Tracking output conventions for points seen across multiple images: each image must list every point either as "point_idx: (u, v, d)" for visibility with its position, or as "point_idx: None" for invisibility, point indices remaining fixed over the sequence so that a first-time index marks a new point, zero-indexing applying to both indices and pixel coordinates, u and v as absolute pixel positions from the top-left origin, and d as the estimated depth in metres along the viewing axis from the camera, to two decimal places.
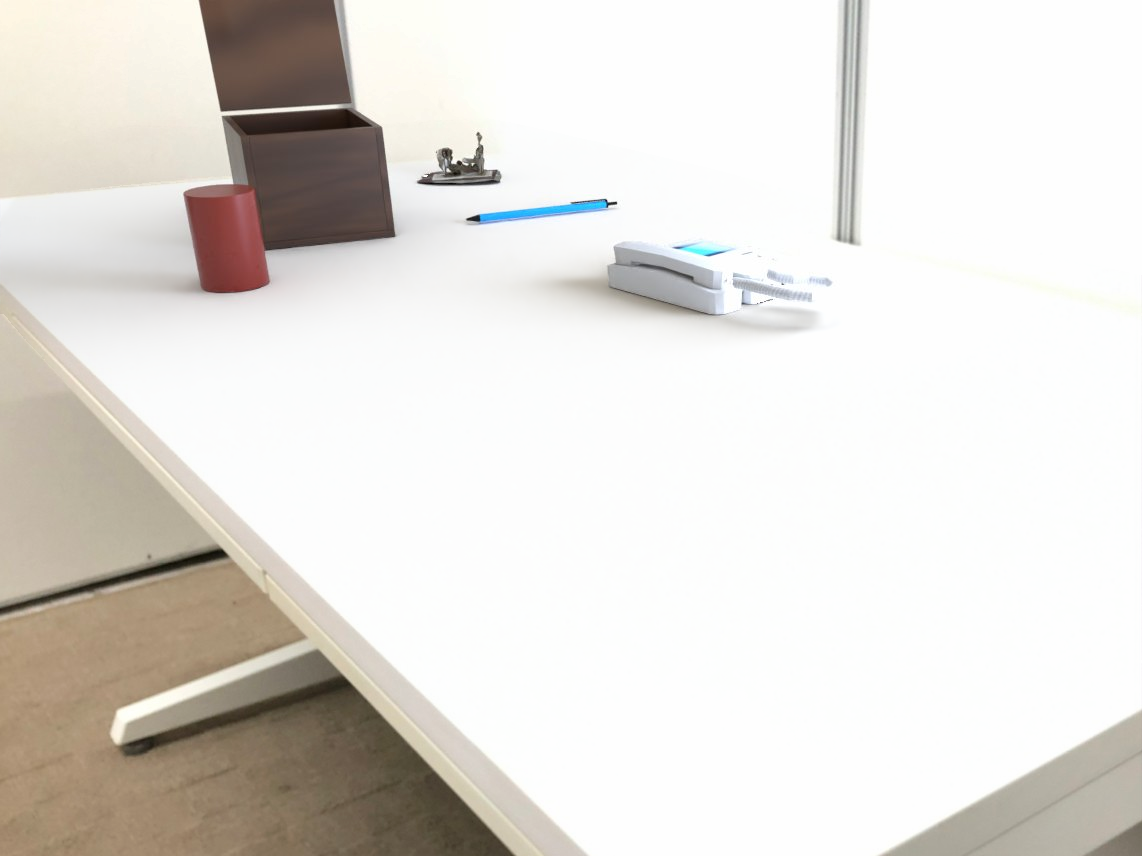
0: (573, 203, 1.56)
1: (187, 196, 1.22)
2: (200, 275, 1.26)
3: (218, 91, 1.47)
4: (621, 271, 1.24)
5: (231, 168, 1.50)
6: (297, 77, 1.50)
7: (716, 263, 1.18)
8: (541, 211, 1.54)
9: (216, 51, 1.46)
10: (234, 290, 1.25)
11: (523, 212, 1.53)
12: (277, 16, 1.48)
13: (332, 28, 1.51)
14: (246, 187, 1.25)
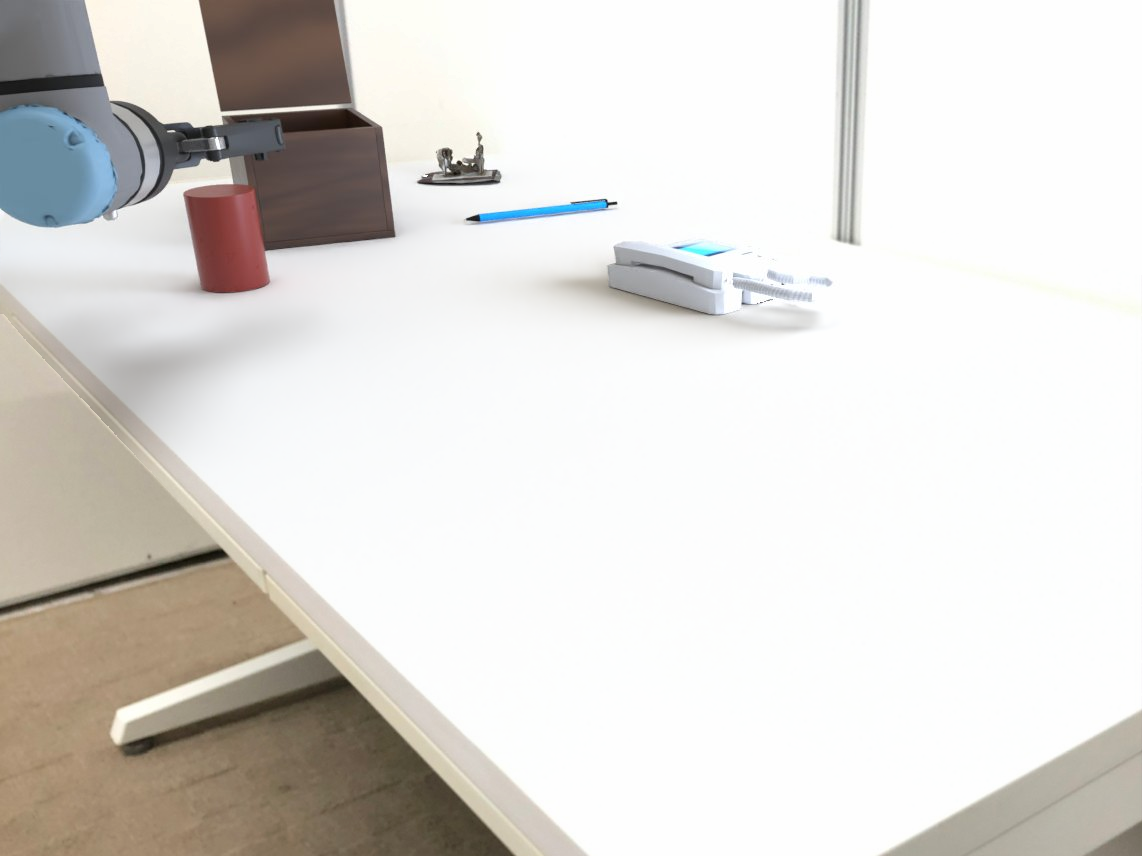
0: (573, 203, 1.56)
1: (187, 196, 1.22)
2: (200, 275, 1.26)
3: (218, 91, 1.47)
4: (621, 271, 1.24)
5: (231, 168, 1.50)
6: (297, 77, 1.50)
7: (716, 263, 1.18)
8: (541, 211, 1.54)
9: (216, 51, 1.46)
10: (234, 290, 1.25)
11: (523, 212, 1.53)
12: (277, 16, 1.48)
13: (332, 28, 1.51)
14: (246, 187, 1.25)
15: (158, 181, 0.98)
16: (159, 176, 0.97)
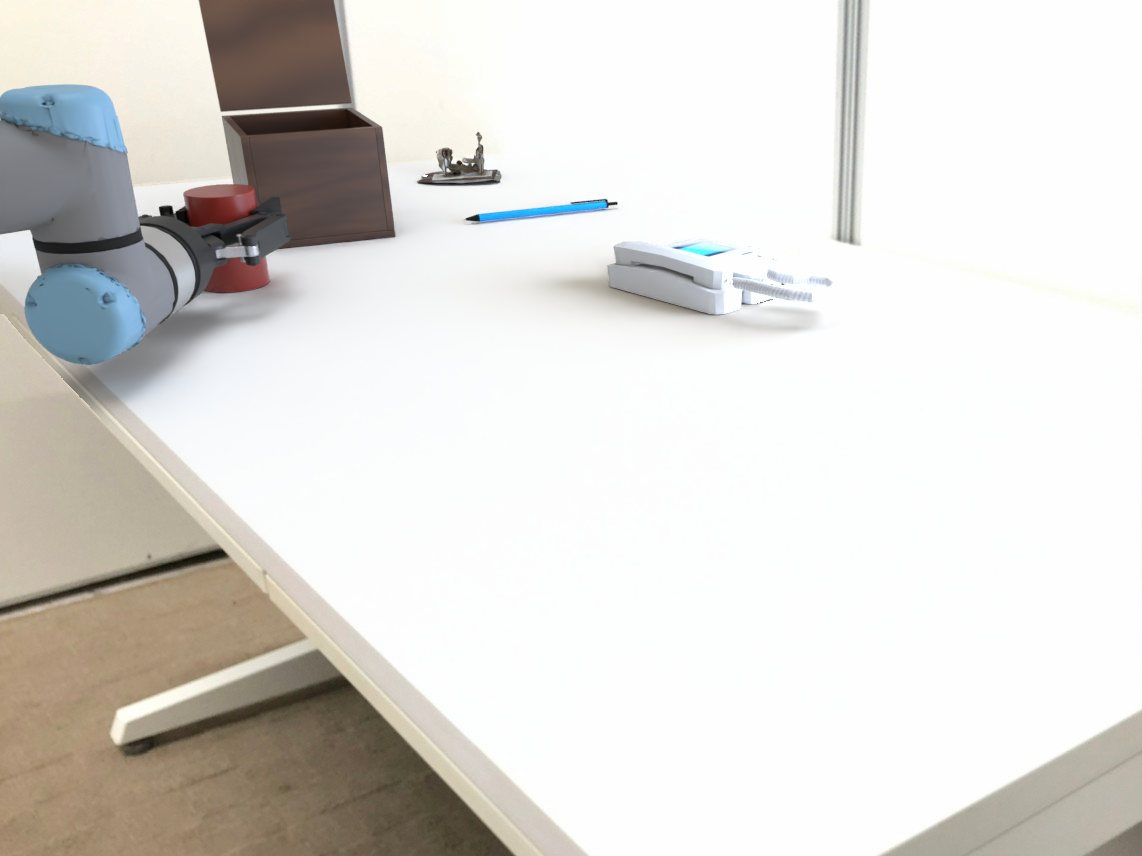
0: (573, 203, 1.56)
1: (187, 196, 1.22)
2: None
3: (218, 91, 1.47)
4: (621, 271, 1.24)
5: (231, 168, 1.50)
6: (297, 77, 1.50)
7: (716, 263, 1.18)
8: (541, 211, 1.54)
9: (216, 51, 1.46)
10: (234, 290, 1.25)
11: (523, 212, 1.53)
12: (277, 16, 1.48)
13: (332, 28, 1.51)
14: (246, 187, 1.25)
15: (194, 293, 1.11)
16: (195, 289, 1.10)
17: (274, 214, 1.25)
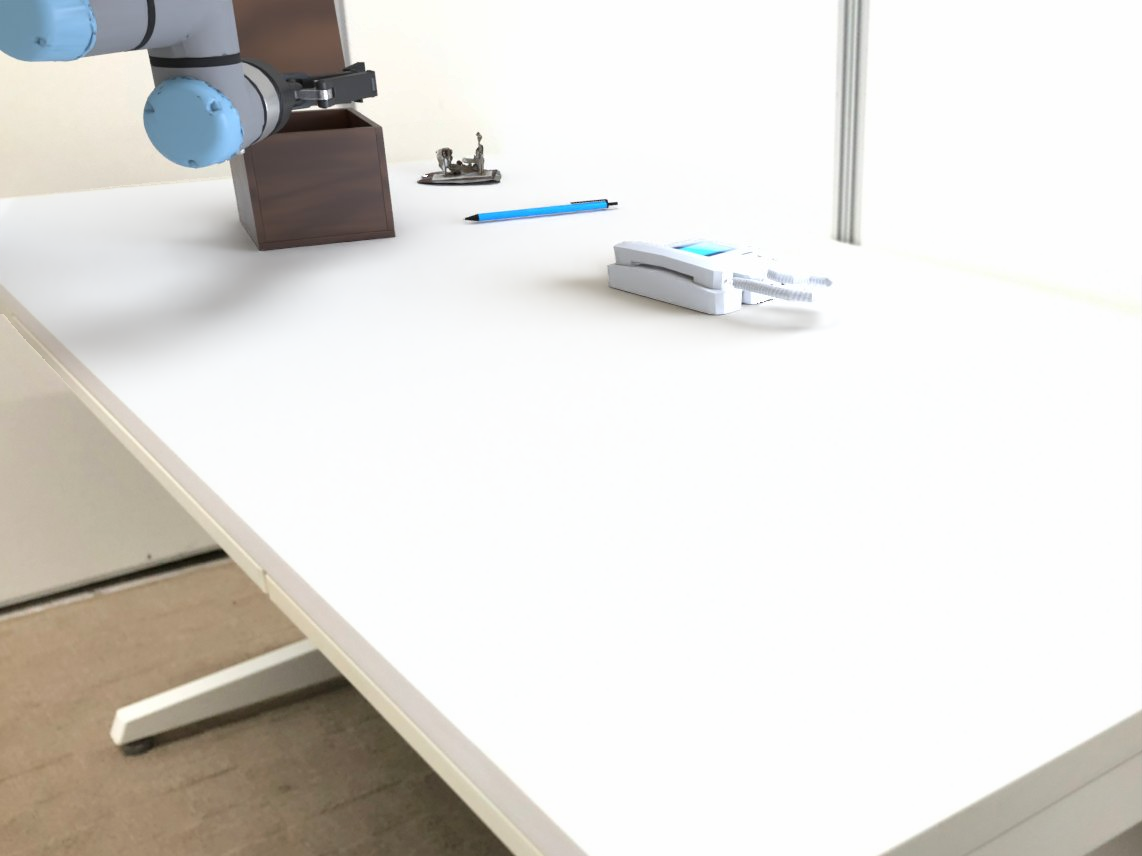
0: (573, 203, 1.56)
1: None
2: None
3: None
4: (621, 271, 1.24)
5: (231, 168, 1.50)
6: None
7: (716, 263, 1.18)
8: (540, 211, 1.54)
9: None
10: None
11: (522, 212, 1.53)
12: (277, 16, 1.48)
13: (332, 28, 1.51)
14: None
15: (277, 124, 1.27)
16: (278, 121, 1.26)
17: None
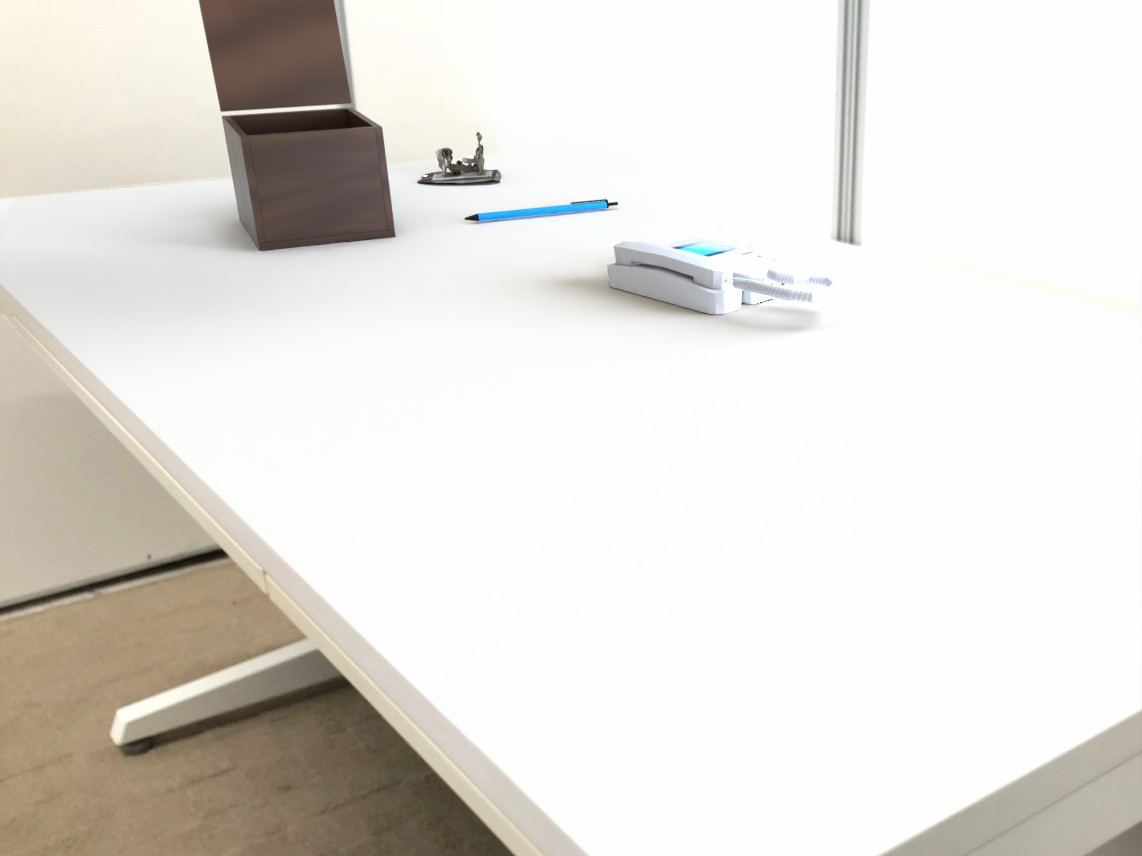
0: (573, 203, 1.56)
1: None
2: None
3: (218, 91, 1.47)
4: (621, 271, 1.24)
5: (231, 168, 1.50)
6: (297, 77, 1.50)
7: (716, 263, 1.18)
8: (540, 211, 1.54)
9: (216, 51, 1.46)
10: None
11: (522, 212, 1.53)
12: (277, 16, 1.48)
13: (332, 28, 1.51)
14: None
15: None
16: None
17: None
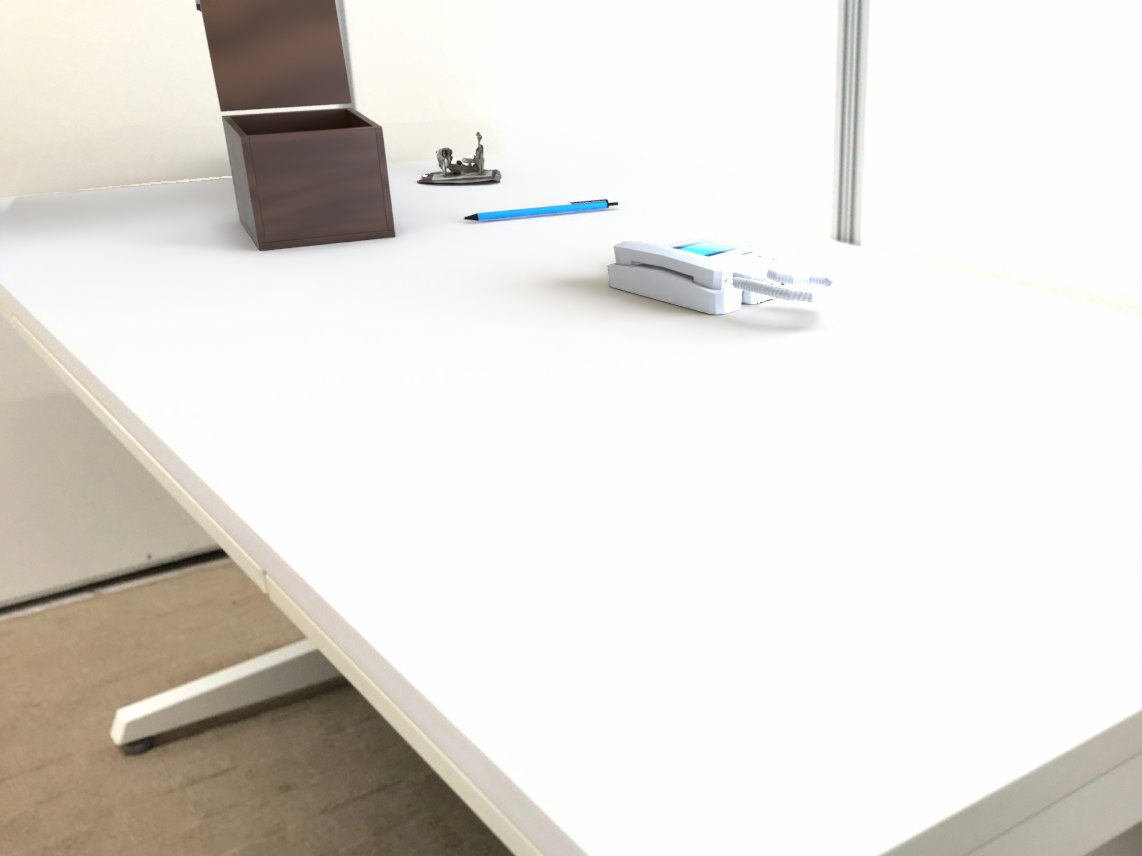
0: (573, 203, 1.56)
1: None
2: None
3: (218, 91, 1.47)
4: (621, 271, 1.24)
5: (231, 168, 1.50)
6: (297, 77, 1.50)
7: (716, 263, 1.18)
8: (540, 211, 1.54)
9: (216, 51, 1.46)
10: None
11: (522, 211, 1.54)
12: (278, 15, 1.48)
13: (333, 27, 1.51)
14: None
15: None
16: None
17: None
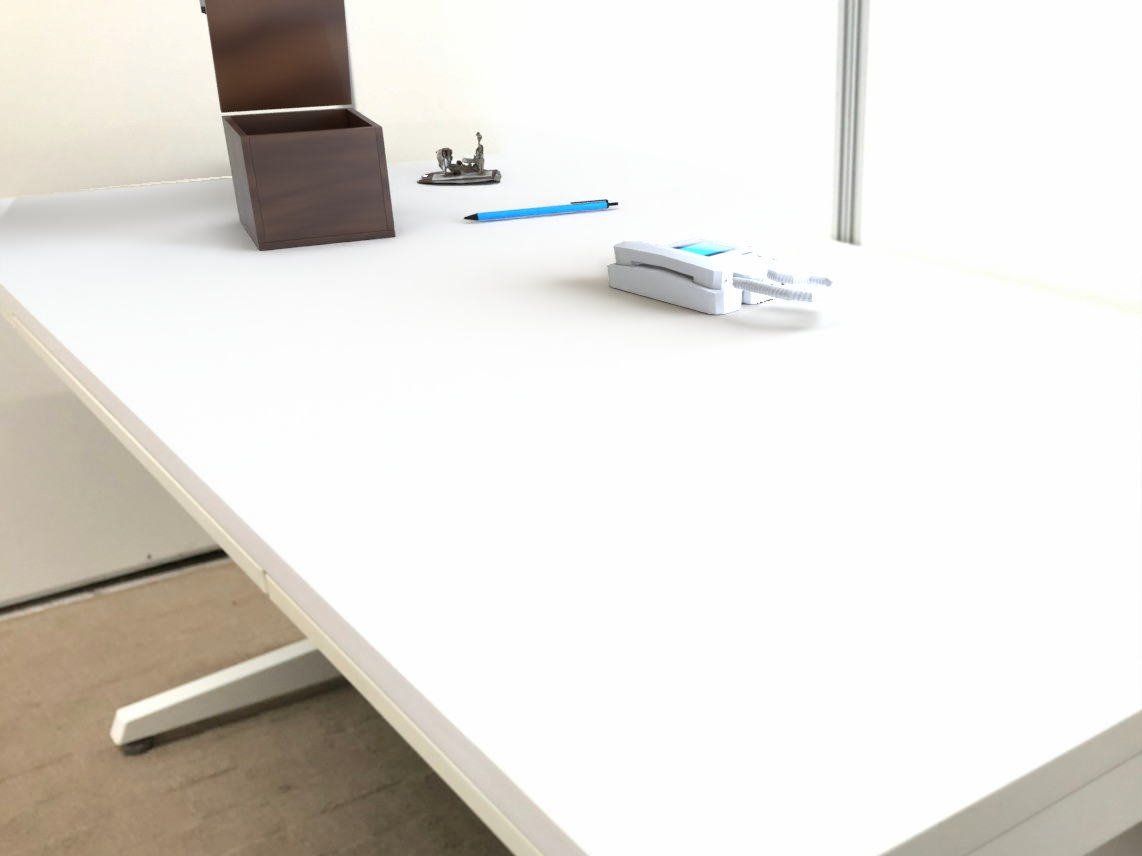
0: (573, 203, 1.56)
1: None
2: None
3: (220, 94, 1.46)
4: (621, 271, 1.24)
5: (231, 168, 1.50)
6: (300, 81, 1.49)
7: (716, 263, 1.18)
8: (540, 211, 1.54)
9: (220, 57, 1.44)
10: None
11: (522, 211, 1.54)
12: (285, 22, 1.44)
13: (340, 34, 1.48)
14: None
15: None
16: None
17: None
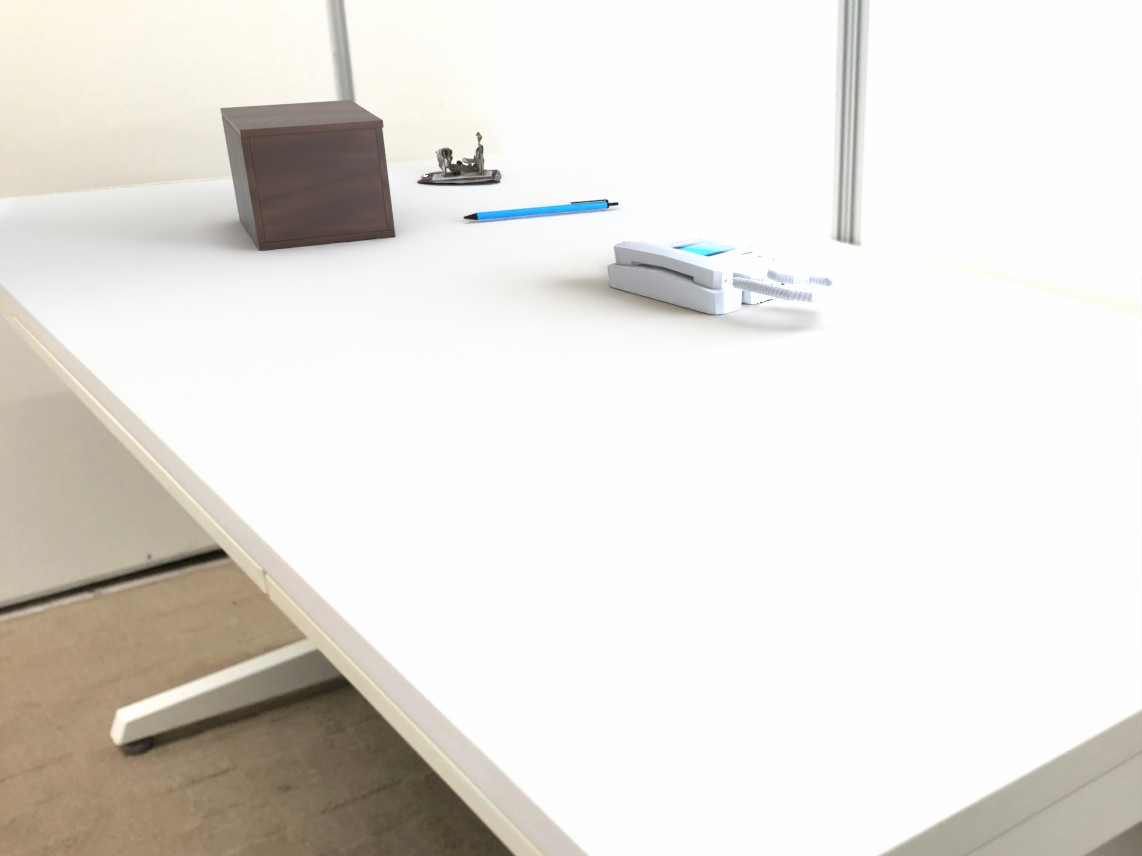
0: (573, 203, 1.56)
1: None
2: None
3: (224, 117, 1.46)
4: (621, 271, 1.24)
5: (231, 168, 1.50)
6: None
7: (716, 263, 1.18)
8: (540, 210, 1.54)
9: None
10: None
11: (521, 211, 1.54)
12: None
13: None
14: None
15: None
16: None
17: None
